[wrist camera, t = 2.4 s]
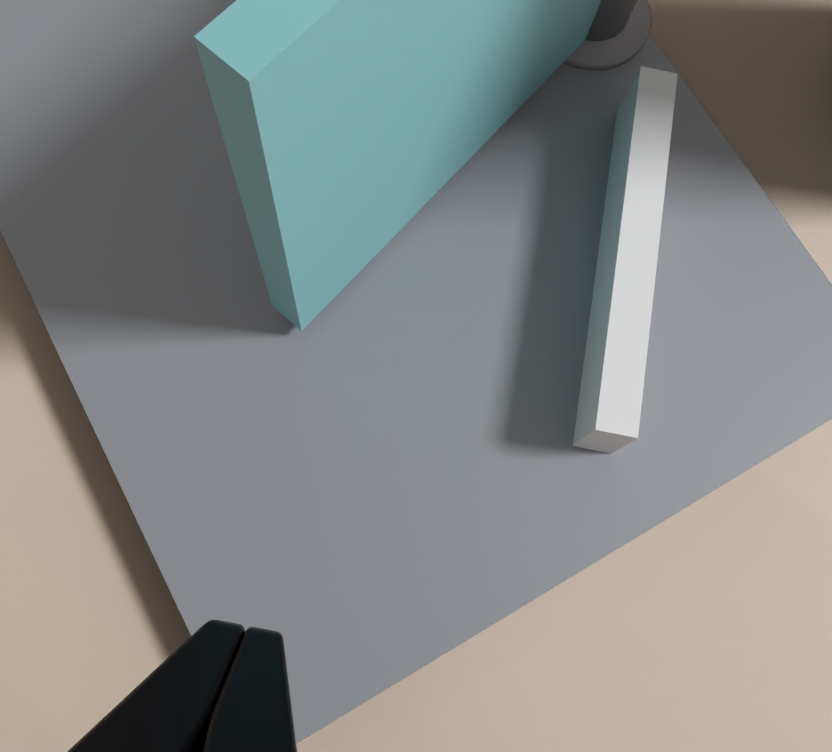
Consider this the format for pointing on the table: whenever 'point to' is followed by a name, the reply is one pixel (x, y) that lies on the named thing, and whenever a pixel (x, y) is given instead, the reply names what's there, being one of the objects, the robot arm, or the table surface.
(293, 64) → the door
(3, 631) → the table surface
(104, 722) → the robot arm
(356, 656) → the base board
